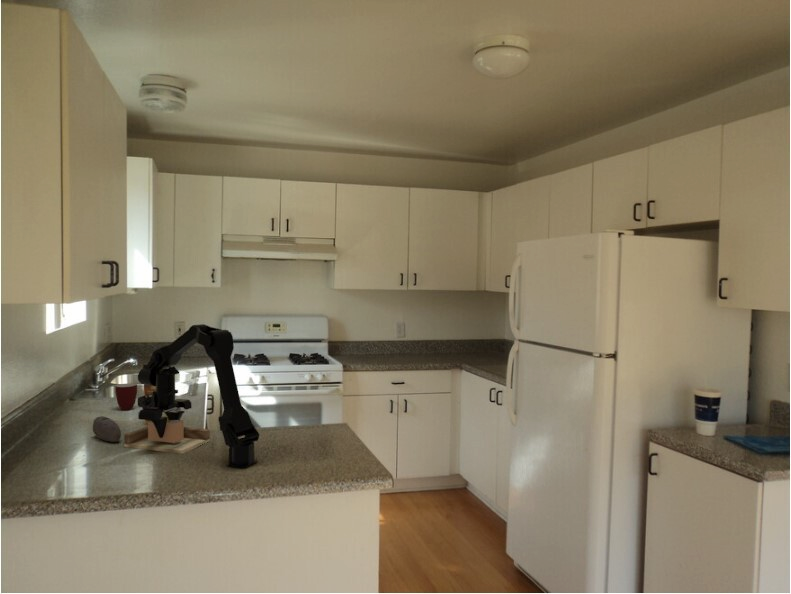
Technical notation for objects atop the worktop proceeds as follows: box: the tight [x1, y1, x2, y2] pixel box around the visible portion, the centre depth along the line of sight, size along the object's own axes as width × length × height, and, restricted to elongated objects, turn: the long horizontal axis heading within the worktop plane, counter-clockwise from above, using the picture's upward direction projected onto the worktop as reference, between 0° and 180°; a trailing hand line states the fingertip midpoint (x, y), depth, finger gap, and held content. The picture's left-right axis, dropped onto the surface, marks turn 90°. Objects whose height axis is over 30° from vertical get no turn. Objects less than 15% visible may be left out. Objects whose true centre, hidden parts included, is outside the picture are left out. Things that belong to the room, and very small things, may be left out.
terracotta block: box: [147, 419, 185, 443], centre depth 191 cm, size 4×10×6 cm, turn 72°
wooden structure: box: [123, 426, 211, 454], centre depth 194 cm, size 22×14×4 cm, turn 72°
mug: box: [114, 382, 138, 412], centre depth 243 cm, size 11×8×10 cm
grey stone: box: [92, 416, 122, 443], centre depth 198 cm, size 15×5×7 cm, turn 48°
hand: (166, 435), depth 191 cm, fingers closed on terracotta block, 4 cm apart
